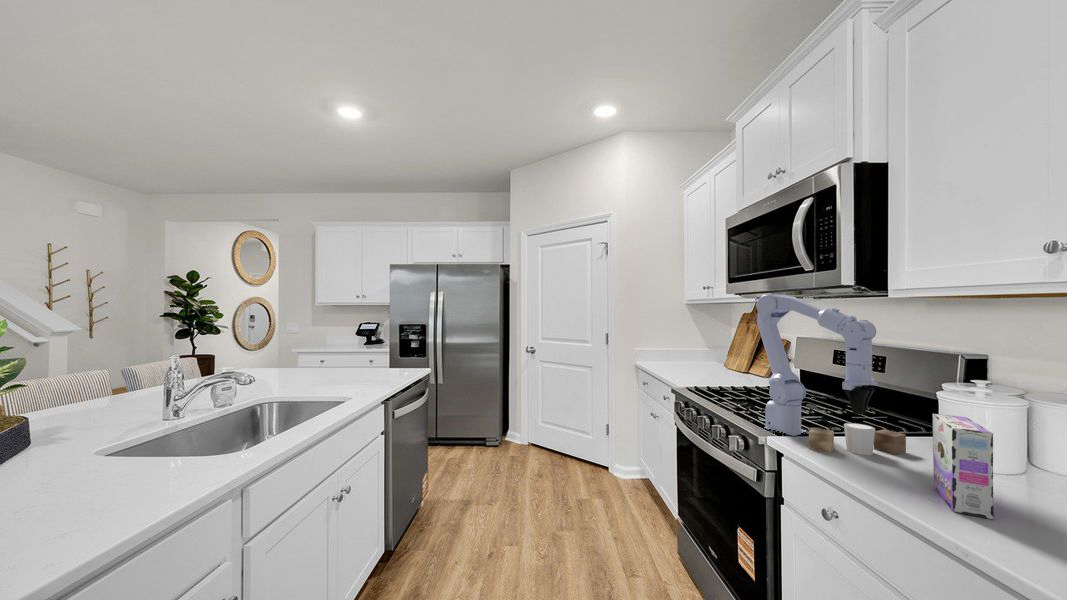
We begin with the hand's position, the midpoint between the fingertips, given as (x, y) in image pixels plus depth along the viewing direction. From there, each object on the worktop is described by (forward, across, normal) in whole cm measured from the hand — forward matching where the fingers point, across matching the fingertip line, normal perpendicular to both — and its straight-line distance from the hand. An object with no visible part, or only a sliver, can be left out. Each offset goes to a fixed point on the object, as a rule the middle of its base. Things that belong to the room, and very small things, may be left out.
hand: (859, 413), depth 114 cm
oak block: (+10, -6, +6) cm, 14 cm away
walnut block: (+10, +8, -4) cm, 14 cm away
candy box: (+11, -17, -24) cm, 31 cm away
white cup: (+11, 0, 0) cm, 11 cm away
